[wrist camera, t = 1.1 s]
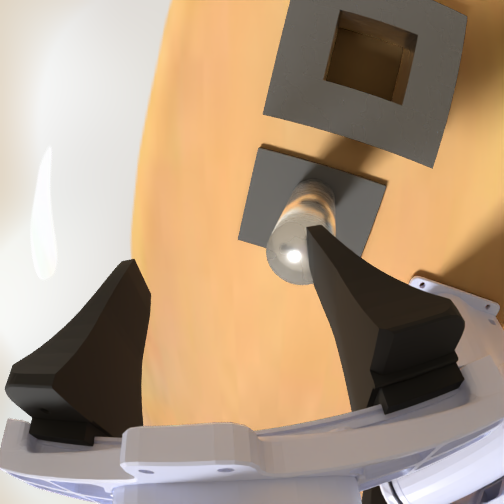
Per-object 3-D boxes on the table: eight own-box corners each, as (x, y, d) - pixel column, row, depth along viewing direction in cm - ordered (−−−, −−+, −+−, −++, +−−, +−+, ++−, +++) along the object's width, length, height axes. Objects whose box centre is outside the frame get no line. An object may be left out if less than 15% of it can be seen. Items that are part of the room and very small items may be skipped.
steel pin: (340, 186, 21) (345, 233, 13) (327, 226, 22) (322, 293, 14) (297, 173, 21) (275, 211, 13) (286, 214, 23) (259, 273, 15)
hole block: (446, 30, 15) (467, 16, 11) (415, 158, 19) (432, 168, 16) (306, -15, 16) (300, -38, 12) (274, 114, 20) (262, 114, 17)
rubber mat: (385, 185, 20) (386, 186, 20) (352, 272, 24) (353, 274, 23) (259, 147, 22) (258, 147, 21) (239, 237, 25) (237, 239, 24)
